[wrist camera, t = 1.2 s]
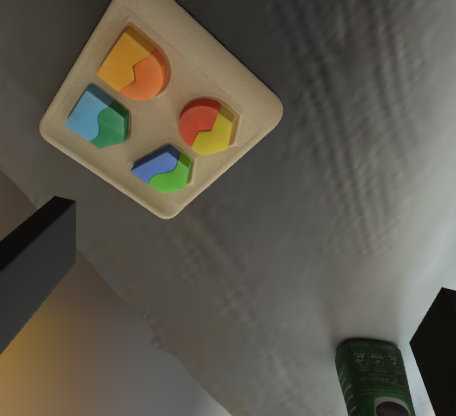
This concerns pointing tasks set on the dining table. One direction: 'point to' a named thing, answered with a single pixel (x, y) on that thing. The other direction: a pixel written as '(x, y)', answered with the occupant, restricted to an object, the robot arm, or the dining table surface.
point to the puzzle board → (158, 106)
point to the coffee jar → (373, 379)
